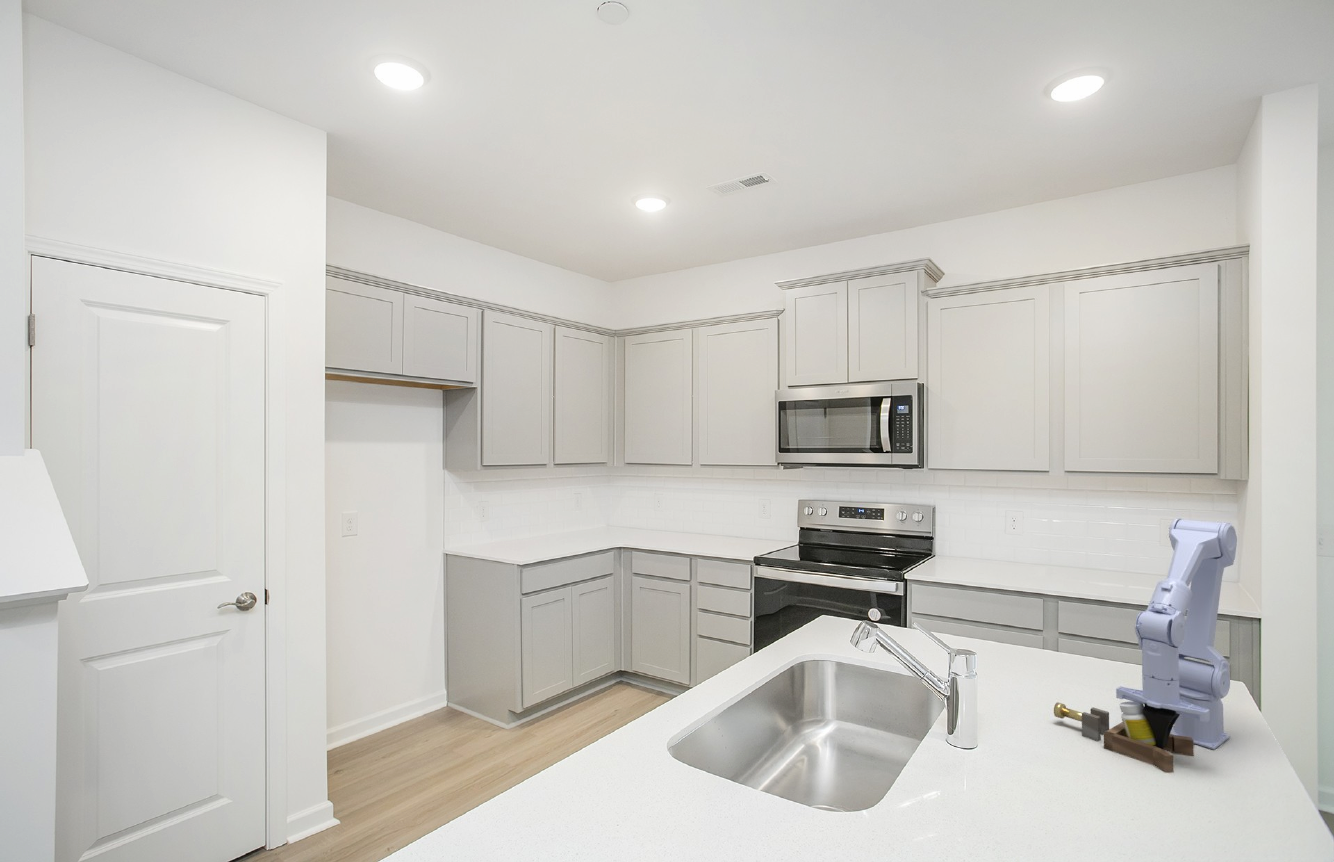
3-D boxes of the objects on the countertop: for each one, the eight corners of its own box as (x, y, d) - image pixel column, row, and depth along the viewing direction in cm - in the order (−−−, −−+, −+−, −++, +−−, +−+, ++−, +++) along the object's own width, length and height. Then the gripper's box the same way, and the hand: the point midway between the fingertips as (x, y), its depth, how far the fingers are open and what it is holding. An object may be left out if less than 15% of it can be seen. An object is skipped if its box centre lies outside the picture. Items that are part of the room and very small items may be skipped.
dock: (1101, 724, 142) (1101, 703, 142) (1196, 754, 128) (1195, 730, 128) (1073, 741, 134) (1072, 718, 134) (1170, 774, 121) (1170, 748, 121)
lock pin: (1060, 714, 144) (1060, 701, 144) (1097, 726, 138) (1097, 712, 138) (1053, 718, 142) (1053, 704, 142) (1090, 730, 136) (1090, 715, 136)
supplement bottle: (1166, 749, 127) (1150, 703, 129) (1141, 754, 127) (1126, 707, 129) (1150, 744, 131) (1135, 699, 133) (1126, 748, 132) (1111, 703, 134)
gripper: (1109, 669, 131) (1110, 738, 131) (1199, 691, 119) (1200, 768, 119) (1124, 662, 135) (1125, 729, 135) (1213, 683, 123) (1214, 756, 123)
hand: (1161, 746), depth 127 cm, fingers closed
